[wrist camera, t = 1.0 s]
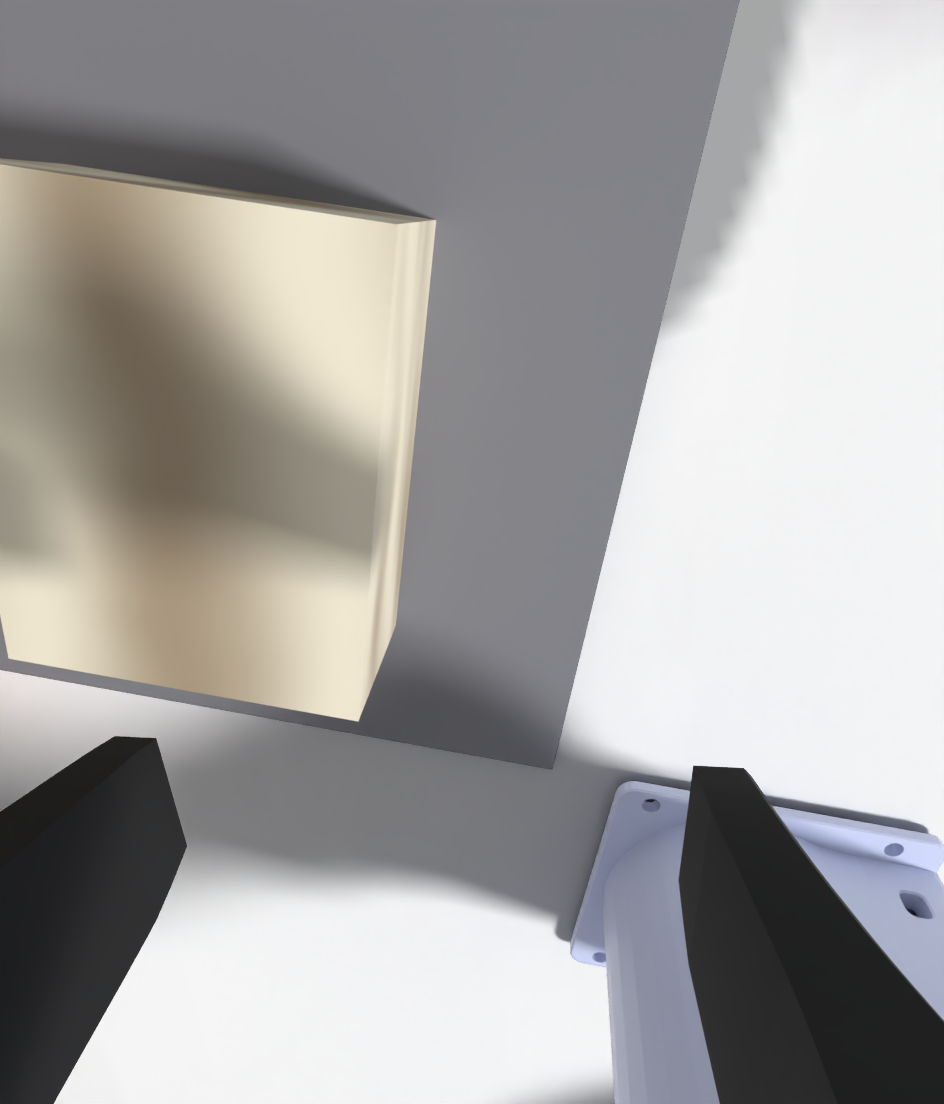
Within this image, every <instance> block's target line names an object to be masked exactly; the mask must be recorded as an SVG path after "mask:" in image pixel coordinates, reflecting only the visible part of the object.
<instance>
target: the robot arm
mask: <svg viewBox="0 0 944 1104" xmlns="http://www.w3.org/2000/svg"><path fill="white" fill-rule="evenodd" d="M648 799H655V800H656V801H654V802H646V801H645V800H648ZM892 843H894V844H892ZM889 844H892V845H889ZM186 847H187V845H186V841H185V838H184V834H183V831H182V827H181V824H180V820H179V817H178V813H177V810H176V806H175V803H174V799H173V796H172V792H171V789H170V785H169V782H168V778H167V775H166V771H165V768H164V764H163V761H162V757H161V754H160V750H159V747H158V743H157V740H156V738H139V737H120V736H115V737H113V738H111V739H110V740H108V741H106V742H105V743H103V744H101V745H100V746H98V747H96V748H95V749H93V750H92V751H90V752H89V753H87V754H86V755H84V756H82V757H81V758H79V759H78V760H76V761H75V762H73V763H72V764H70V765H69V766H67V767H66V768H64V769H63V770H61V771H60V772H58V773H57V774H55V775H54V776H53V777H51V778H50V779H48V780H47V781H45V782H44V783H42V784H41V785H39V786H38V787H36V788H35V789H33V790H32V791H30V792H29V793H28V794H26V795H25V796H23V797H22V798H20V799H19V800H17V801H16V802H14V803H13V804H11V805H10V806H8V807H7V808H5V809H4V810H2V811H1V812H0V1104H54V1102H55V1100H56V1098H57V1096H58V1095H59V1093H60V1091H61V1089H62V1088H63V1086H64V1084H65V1082H66V1080H67V1079H68V1077H69V1075H70V1073H71V1072H72V1070H73V1068H74V1066H75V1065H76V1063H77V1061H78V1059H79V1058H80V1056H81V1054H82V1052H83V1050H84V1049H85V1047H86V1045H87V1043H88V1042H89V1040H90V1038H91V1036H92V1035H93V1033H94V1031H95V1029H96V1027H97V1026H98V1024H99V1022H100V1020H101V1019H102V1017H103V1015H104V1013H105V1012H106V1010H107V1008H108V1006H109V1005H110V1003H111V1001H112V999H113V997H114V996H115V994H116V992H117V990H118V989H119V987H120V985H121V983H122V982H123V980H124V978H125V976H126V974H127V973H128V971H129V969H130V967H131V965H132V964H133V962H134V960H135V958H136V956H137V955H138V953H139V951H140V949H141V947H142V946H143V944H144V942H145V940H146V938H147V936H148V935H149V933H150V931H151V929H152V927H153V925H154V924H155V922H156V920H157V917H158V915H159V913H160V911H161V908H162V906H163V904H164V901H165V899H166V897H167V894H168V892H169V890H170V888H171V885H172V883H173V880H174V878H175V875H176V872H177V870H178V867H179V865H180V862H181V860H182V857H183V855H184V852H185V850H186ZM943 862H944V844H943V843H942V841H941V840H940V839H939V838H938V837H937V836H934V835H931V834H926V833H921V832H915V831H910V830H904V829H899V828H893V827H887V826H882V825H876V824H871V823H865V822H860V821H854V820H849V819H843V818H838V817H832V816H827V815H821V814H815V813H810V812H804V811H799V810H793V809H788V808H782V807H777V806H772V805H771V804H770V802H769V801H768V800H767V798H766V797H765V795H764V794H763V792H762V791H761V790H760V788H759V787H758V785H757V784H756V782H755V781H754V779H753V778H752V777H751V775H750V774H749V773H748V772H747V771H746V770H745V769H744V768H728V767H709V766H693V773H692V780H691V788H690V791H688V790H683V789H677V788H671V787H666V786H660V785H655V784H649V783H644V782H638V781H629V782H625V783H623V784H621V785H620V786H619V787H618V789H617V790H616V793H615V796H614V800H613V803H612V806H611V810H610V813H609V816H608V819H607V823H606V826H605V829H604V833H603V836H602V839H601V843H600V846H599V849H598V853H597V856H596V859H595V862H594V866H593V869H592V872H591V876H590V879H589V882H588V886H587V889H586V892H585V896H584V899H583V902H582V905H581V909H580V912H579V915H578V919H577V922H576V925H575V929H574V932H573V935H572V939H571V942H570V950H571V956H572V957H573V958H574V959H575V960H576V961H578V962H581V963H585V964H590V965H596V966H601V967H606V968H607V983H608V999H609V1016H610V1032H611V1048H612V1064H613V1080H614V1096H615V1104H944V885H943V883H942V881H941V879H940V878H939V876H938V874H937V872H938V870H939V869H940V867H941V865H942V864H943Z"/></svg>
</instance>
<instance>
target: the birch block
mask: <svg viewBox="0 0 944 1104" xmlns="http://www.w3.org/2000/svg"><path fill="white" fill-rule="evenodd" d="M435 228H436V220H433V219H427V218H420V217H414V216H407V215H400V214H394V213H387V212H380V211H374V210H367V209H360V208H354V207H347V206H341V205H334V204H327V203H321V202H314V201H307V200H301V199H294V198H287V197H281V196H274V195H267V194H261V193H254V192H248V191H241V190H234V189H228V188H221V187H214V186H208V185H201V184H194V183H188V182H181V181H174V180H168V179H161V178H155V177H148V176H141V175H135V174H128V173H121V172H115V171H108V170H101V169H95V168H88V167H82V166H75V165H68V164H60V163H48V162H36V161H24V160H13V159H1V158H0V617H1V622H2V627H3V632H4V638H5V643H6V648H7V653H8V658H9V659H14V660H19V661H25V662H30V663H36V664H41V665H47V666H53V667H58V668H64V669H69V670H75V671H80V672H86V673H91V674H97V675H103V676H108V677H114V678H119V679H125V680H130V681H136V682H141V683H147V684H153V685H158V686H164V687H169V688H175V689H180V690H186V691H191V692H197V693H203V694H208V695H214V696H219V697H225V698H230V699H236V700H241V701H247V702H253V703H258V704H264V705H269V706H275V707H280V708H286V709H291V710H297V711H303V712H308V713H314V714H319V715H325V716H330V717H336V718H341V719H347V720H353V721H359V719H360V716H361V713H362V711H363V708H364V706H365V703H366V701H367V698H368V696H369V693H370V690H371V688H372V685H373V683H374V680H375V678H376V675H377V672H378V670H379V667H380V665H381V662H382V660H383V657H384V654H385V652H386V649H387V647H388V644H389V642H390V639H391V637H392V634H393V631H394V629H395V626H396V619H397V609H398V599H399V589H400V579H401V569H402V559H403V549H404V539H405V529H406V519H407V509H408V499H409V489H410V479H411V468H412V458H413V448H414V438H415V428H416V418H417V408H418V398H419V388H420V378H421V368H422V358H423V348H424V338H425V328H426V318H427V308H428V298H429V288H430V278H431V268H432V258H433V248H434V238H435Z"/></svg>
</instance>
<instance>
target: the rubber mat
mask: <svg viewBox="0 0 944 1104" xmlns="http://www.w3.org/2000/svg"><path fill="white" fill-rule="evenodd" d="M738 4H739V0H0V158H1V159H13V160H24V161H36V162H48V163H60V164H68V165H75V166H82V167H88V168H95V169H101V170H108V171H115V172H121V173H128V174H135V175H141V176H148V177H155V178H161V179H168V180H174V181H181V182H188V183H194V184H201V185H208V186H214V187H221V188H228V189H234V190H241V191H248V192H254V193H261V194H267V195H274V196H281V197H287V198H294V199H301V200H307V201H314V202H321V203H327V204H334V205H341V206H347V207H354V208H360V209H367V210H374V211H380V212H387V213H394V214H400V215H407V216H414V217H420V218H427V219H433V220H436V228H435V238H434V248H433V258H432V268H431V278H430V288H429V298H428V308H427V318H426V328H425V338H424V348H423V358H422V368H421V378H420V388H419V398H418V408H417V418H416V428H415V438H414V448H413V458H412V468H411V479H410V489H409V499H408V509H407V519H406V529H405V539H404V549H403V559H402V569H401V579H400V589H399V599H398V609H397V619H396V626H395V629H394V631H393V634H392V637H391V639H390V642H389V644H388V647H387V649H386V652H385V654H384V657H383V660H382V662H381V665H380V667H379V670H378V672H377V675H376V678H375V680H374V683H373V685H372V688H371V690H370V693H369V696H368V698H367V701H366V703H365V706H364V708H363V711H362V713H361V716H360V719H359V721H353V720H347V719H341V718H336V717H330V716H325V715H319V714H314V713H308V712H303V711H297V710H291V709H286V708H280V707H275V706H269V705H264V704H258V703H253V702H247V701H241V700H236V699H230V698H225V697H219V696H214V695H208V694H203V693H197V692H191V691H186V690H180V689H175V688H169V687H164V686H158V685H153V684H147V683H141V682H136V681H130V680H125V679H119V678H114V677H108V676H103V675H97V674H91V673H86V672H80V671H75V670H69V669H64V668H58V667H53V666H47V665H41V664H36V663H30V662H25V661H19V660H14V659H9V658H8V653H7V648H6V643H5V638H4V632H3V627H2V622H1V617H0V670H4V671H10V672H15V673H21V674H26V675H32V676H37V677H43V678H48V679H54V680H59V681H65V682H70V683H76V684H82V685H87V686H93V687H98V688H104V689H109V690H115V691H120V692H126V693H131V694H137V695H142V696H148V697H153V698H159V699H165V700H170V701H176V702H181V703H187V704H192V705H198V706H203V707H209V708H214V709H220V710H225V711H231V712H236V713H242V714H247V715H253V716H259V717H264V718H270V719H275V720H281V721H286V722H292V723H297V724H303V725H308V726H314V727H319V728H325V729H330V730H336V731H342V732H347V733H353V734H358V735H364V736H369V737H375V738H380V739H386V740H391V741H397V742H402V743H408V744H413V745H419V746H424V747H430V748H436V749H441V750H447V751H452V752H458V753H463V754H469V755H474V756H480V757H485V758H491V759H496V760H502V761H507V762H513V763H519V764H524V765H530V766H535V767H541V768H546V769H553V765H554V761H555V757H556V752H557V748H558V744H559V740H560V736H561V732H562V728H563V724H564V720H565V715H566V711H567V707H568V703H569V699H570V695H571V691H572V687H573V683H574V678H575V674H576V670H577V666H578V662H579V658H580V654H581V650H582V646H583V641H584V637H585V633H586V629H587V625H588V621H589V617H590V613H591V609H592V604H593V600H594V596H595V592H596V588H597V584H598V580H599V576H600V572H601V567H602V563H603V559H604V555H605V551H606V547H607V543H608V539H609V535H610V531H611V526H612V522H613V518H614V514H615V510H616V506H617V502H618V498H619V494H620V489H621V485H622V481H623V477H624V473H625V469H626V465H627V461H628V457H629V452H630V448H631V444H632V440H633V436H634V432H635V428H636V424H637V420H638V415H639V411H640V407H641V403H642V399H643V395H644V391H645V387H646V383H647V378H648V374H649V370H650V366H651V362H652V358H653V354H654V350H655V346H656V341H657V337H658V333H659V329H660V325H661V321H662V317H663V313H664V309H665V304H666V300H667V296H668V292H669V288H670V284H671V280H672V276H673V272H674V267H675V263H676V259H677V255H678V251H679V247H680V243H681V238H682V234H683V230H684V226H685V222H686V218H687V214H688V210H689V206H690V202H691V198H692V193H693V189H694V185H695V181H696V177H697V173H698V169H699V165H700V161H701V156H702V152H703V148H704V144H705V140H706V136H707V132H708V127H709V124H710V120H711V115H712V111H713V107H714V103H715V99H716V95H717V91H718V86H719V83H720V78H721V74H722V70H723V66H724V62H725V58H726V54H727V50H728V46H729V41H730V37H731V33H732V29H733V25H734V21H735V17H736V13H737V9H738Z"/></svg>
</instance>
